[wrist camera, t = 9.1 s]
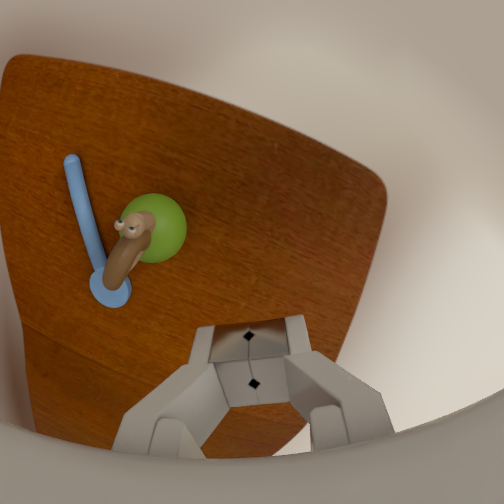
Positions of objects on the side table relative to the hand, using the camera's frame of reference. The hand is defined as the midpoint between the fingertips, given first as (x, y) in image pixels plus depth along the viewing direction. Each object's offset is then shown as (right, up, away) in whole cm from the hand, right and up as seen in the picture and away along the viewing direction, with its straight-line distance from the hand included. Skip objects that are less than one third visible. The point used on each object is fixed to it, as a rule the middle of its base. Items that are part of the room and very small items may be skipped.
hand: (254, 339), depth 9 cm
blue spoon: (-15, +4, +17) cm, 23 cm away
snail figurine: (-8, +6, +17) cm, 19 cm away
